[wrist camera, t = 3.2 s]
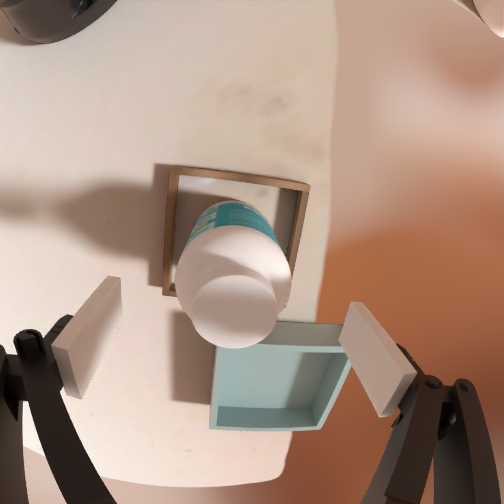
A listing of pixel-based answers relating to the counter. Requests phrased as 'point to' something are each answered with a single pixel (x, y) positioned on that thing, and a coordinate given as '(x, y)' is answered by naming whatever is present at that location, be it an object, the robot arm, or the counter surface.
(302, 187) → the frame
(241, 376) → the bin
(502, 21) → the mug
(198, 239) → the pill bottle
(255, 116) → the counter surface
